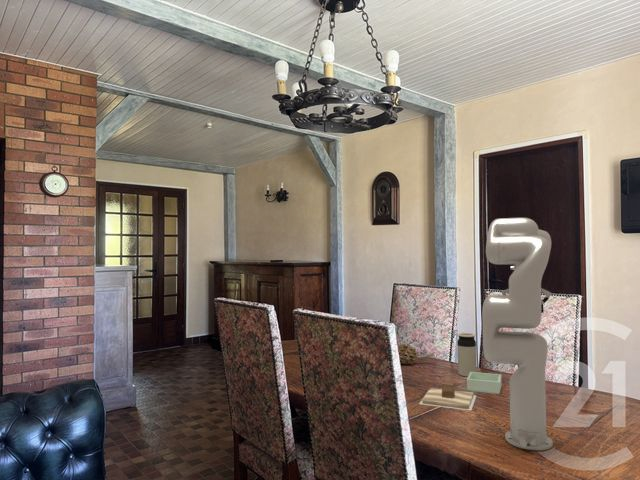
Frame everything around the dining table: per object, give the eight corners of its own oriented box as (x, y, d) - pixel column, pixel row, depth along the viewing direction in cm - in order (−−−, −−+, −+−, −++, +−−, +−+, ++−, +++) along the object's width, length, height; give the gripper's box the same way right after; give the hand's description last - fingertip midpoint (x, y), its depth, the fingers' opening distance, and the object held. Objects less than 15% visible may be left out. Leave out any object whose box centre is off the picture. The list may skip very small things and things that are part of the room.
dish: (499, 395, 176) (499, 382, 176) (467, 391, 181) (466, 379, 181) (501, 386, 187) (501, 374, 187) (470, 383, 191) (470, 371, 192)
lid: (468, 409, 159) (468, 391, 159) (422, 403, 166) (422, 386, 166) (473, 395, 174) (473, 379, 174) (430, 390, 180) (430, 375, 181)
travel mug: (479, 377, 201) (478, 335, 202) (460, 377, 202) (460, 336, 202) (473, 372, 209) (472, 332, 210) (455, 372, 209) (455, 332, 210)
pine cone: (391, 366, 221) (391, 346, 221) (388, 362, 231) (388, 342, 231) (437, 366, 221) (437, 345, 221) (432, 361, 230) (432, 341, 231)
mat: (471, 412, 158) (471, 410, 158) (419, 405, 165) (419, 404, 165) (476, 396, 174) (476, 395, 174) (428, 391, 182) (428, 389, 182)
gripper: (500, 269, 176) (501, 314, 175) (551, 269, 168) (552, 316, 168) (501, 268, 182) (502, 311, 182) (550, 268, 175) (551, 313, 175)
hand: (526, 314), depth 175 cm, fingers open, 9 cm apart
